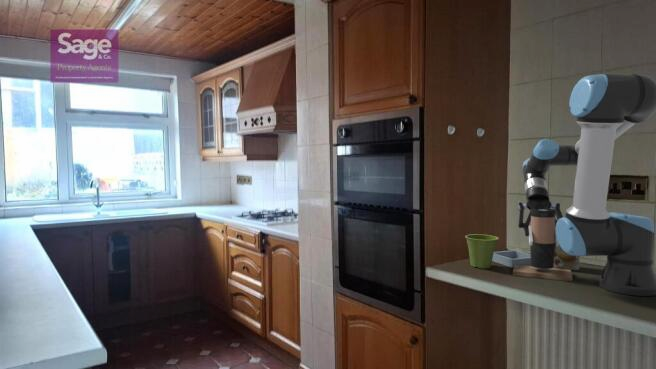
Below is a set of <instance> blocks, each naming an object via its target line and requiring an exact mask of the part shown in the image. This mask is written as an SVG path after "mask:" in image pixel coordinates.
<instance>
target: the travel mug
mask: <svg viewBox="0 0 656 369" xmlns="http://www.w3.org/2000/svg"><path fill="white" fill-rule="evenodd" d="M555 219H556V215H555V209H553V208H550V209H549V208H534V209H531V222H530V226H531V229H532V237H533V243H532V246H530V245H529V246H530V249H529V250H530V254H531V266H532V267H536V268H542V269H551V268H553V267H554V251H555Z"/></svg>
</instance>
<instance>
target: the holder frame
mask: <svg viewBox="0 0 656 369" xmlns="http://www.w3.org/2000/svg"><path fill="white" fill-rule="evenodd" d="M492 262H493V263H494V262H495V263H497V264H500V265H503V266H505V267H506V266H507V267H509V268H513V269H514V265H524V266H531V253H527V252H524V251H521V250H516V249H514V250H513V249H512V250H502V251H501V250H500V251H494V253H493V258H492Z"/></svg>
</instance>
